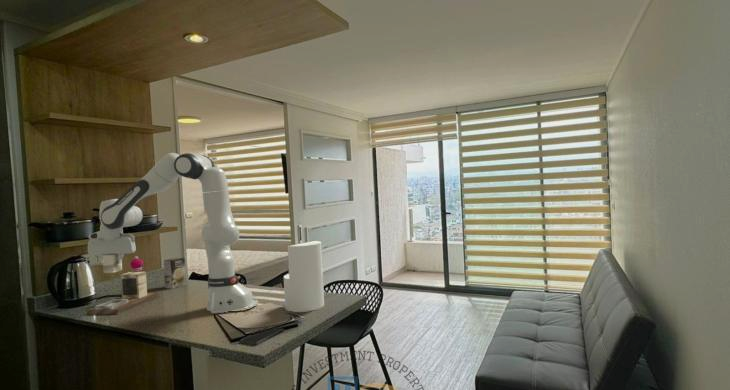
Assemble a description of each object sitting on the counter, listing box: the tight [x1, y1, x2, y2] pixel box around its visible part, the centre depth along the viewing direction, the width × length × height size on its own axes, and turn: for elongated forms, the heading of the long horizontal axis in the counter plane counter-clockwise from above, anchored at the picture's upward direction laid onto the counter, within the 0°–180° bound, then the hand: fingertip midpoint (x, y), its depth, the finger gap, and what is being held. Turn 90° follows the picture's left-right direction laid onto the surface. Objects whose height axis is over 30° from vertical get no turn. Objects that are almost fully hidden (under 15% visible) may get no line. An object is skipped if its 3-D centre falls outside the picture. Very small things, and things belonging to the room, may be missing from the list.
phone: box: [239, 327, 285, 347], centre depth 135 cm, size 8×1×15 cm
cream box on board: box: [86, 271, 159, 315], centre depth 185 cm, size 15×28×14 cm, turn 174°
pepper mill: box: [129, 255, 144, 272], centre depth 210 cm, size 7×7×20 cm
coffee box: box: [163, 257, 186, 290], centre depth 220 cm, size 9×6×16 cm
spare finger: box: [102, 254, 123, 274], centre depth 177 cm, size 7×4×8 cm, turn 2°
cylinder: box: [283, 240, 325, 313], centre depth 170 cm, size 17×17×28 cm
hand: (112, 263), depth 177 cm, fingers closed on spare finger, 4 cm apart
